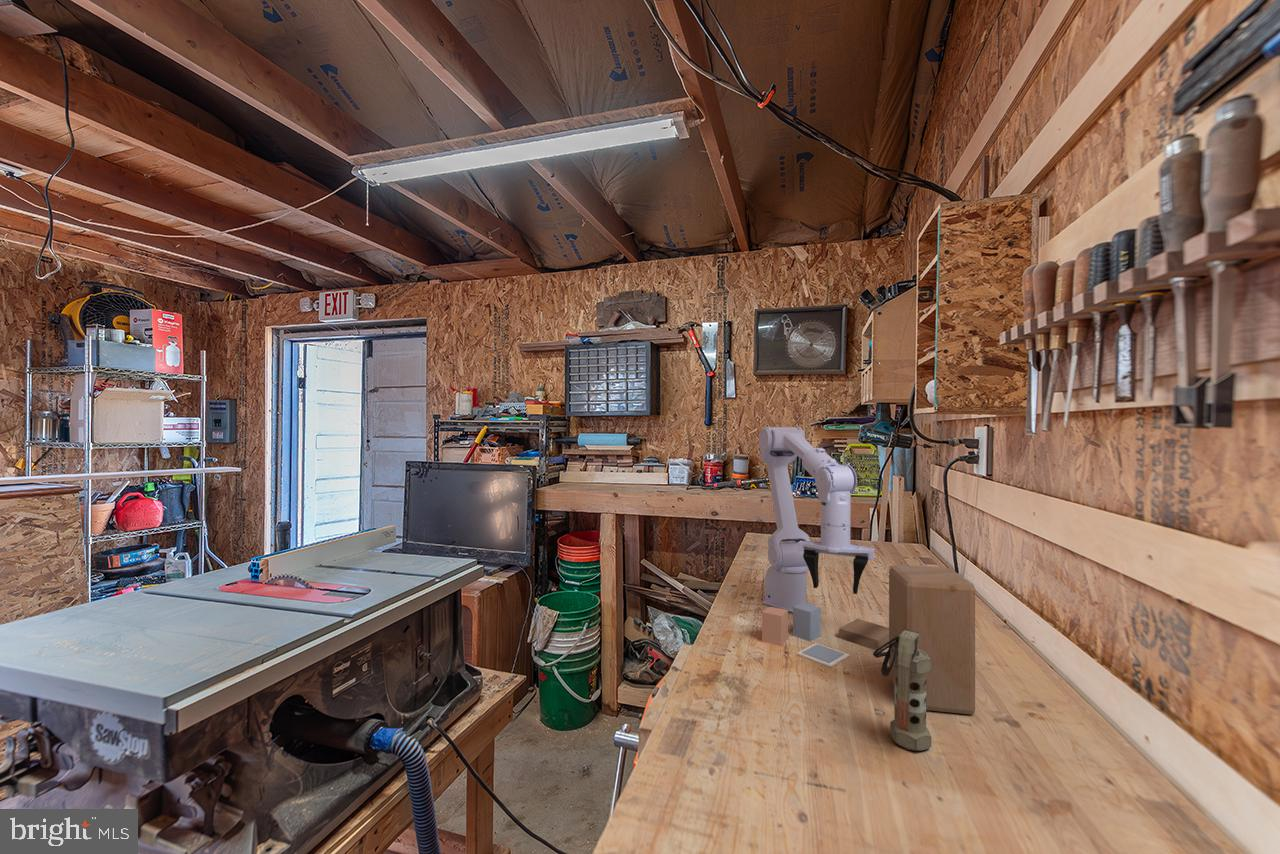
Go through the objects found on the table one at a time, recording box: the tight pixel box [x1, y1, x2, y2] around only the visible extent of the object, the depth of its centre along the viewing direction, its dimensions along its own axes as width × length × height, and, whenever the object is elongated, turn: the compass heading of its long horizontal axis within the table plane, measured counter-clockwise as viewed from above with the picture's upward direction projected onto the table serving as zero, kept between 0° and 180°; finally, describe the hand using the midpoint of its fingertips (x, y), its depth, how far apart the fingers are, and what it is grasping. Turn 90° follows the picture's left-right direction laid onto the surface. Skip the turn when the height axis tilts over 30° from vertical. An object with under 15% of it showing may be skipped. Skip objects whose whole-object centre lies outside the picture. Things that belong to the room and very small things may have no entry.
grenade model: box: [872, 630, 932, 752], centre depth 70 cm, size 6×7×15 cm
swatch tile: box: [796, 642, 851, 668], centre depth 97 cm, size 7×7×1 cm
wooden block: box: [888, 564, 976, 715], centre depth 82 cm, size 10×10×20 cm
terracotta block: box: [761, 606, 789, 647], centre depth 104 cm, size 4×4×6 cm
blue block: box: [792, 603, 822, 642], centre depth 106 cm, size 4×4×6 cm
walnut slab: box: [838, 618, 889, 651], centre depth 104 cm, size 8×8×2 cm
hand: (835, 589), depth 105 cm, fingers open, 7 cm apart
